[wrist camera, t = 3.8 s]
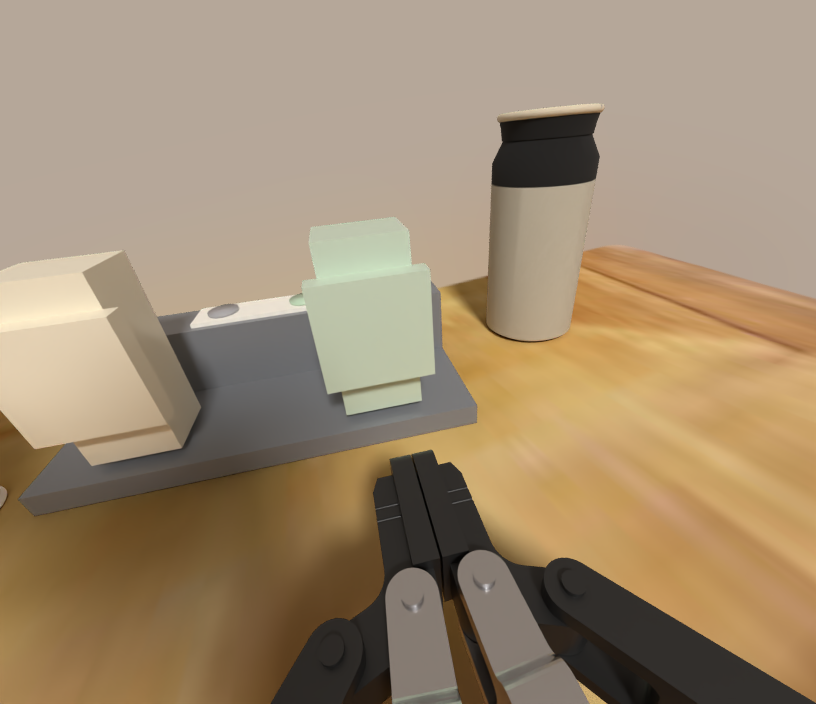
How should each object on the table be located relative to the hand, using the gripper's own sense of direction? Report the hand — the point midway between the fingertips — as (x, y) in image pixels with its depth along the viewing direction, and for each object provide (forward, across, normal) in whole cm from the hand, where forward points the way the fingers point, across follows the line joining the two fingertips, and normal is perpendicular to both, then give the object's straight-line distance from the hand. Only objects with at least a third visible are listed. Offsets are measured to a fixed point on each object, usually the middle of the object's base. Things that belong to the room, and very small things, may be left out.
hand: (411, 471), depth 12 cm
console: (+15, +8, +7) cm, 18 cm away
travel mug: (+21, -16, +7) cm, 27 cm away
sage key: (+11, 0, +5) cm, 12 cm away
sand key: (+11, +15, +5) cm, 19 cm away
